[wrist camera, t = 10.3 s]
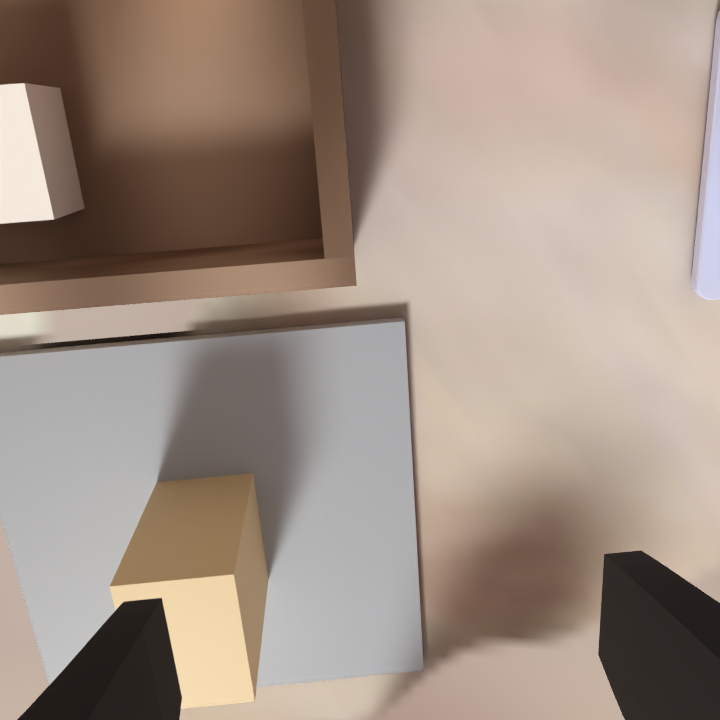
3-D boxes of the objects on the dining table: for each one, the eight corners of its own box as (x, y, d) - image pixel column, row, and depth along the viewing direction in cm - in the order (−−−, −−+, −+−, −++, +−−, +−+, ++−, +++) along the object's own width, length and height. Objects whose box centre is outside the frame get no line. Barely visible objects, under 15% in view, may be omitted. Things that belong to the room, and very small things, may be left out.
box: (310, -264, 15) (308, -369, 12) (350, 258, 19) (356, 285, 16) (-227, -233, 15) (-380, -332, 12) (-74, 291, 19) (-157, 327, 16)
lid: (400, 311, 21) (431, 383, 15) (419, 649, 25) (448, 803, 19) (-30, 349, 20) (-164, 437, 15) (66, 685, 25) (-9, 853, 19)
